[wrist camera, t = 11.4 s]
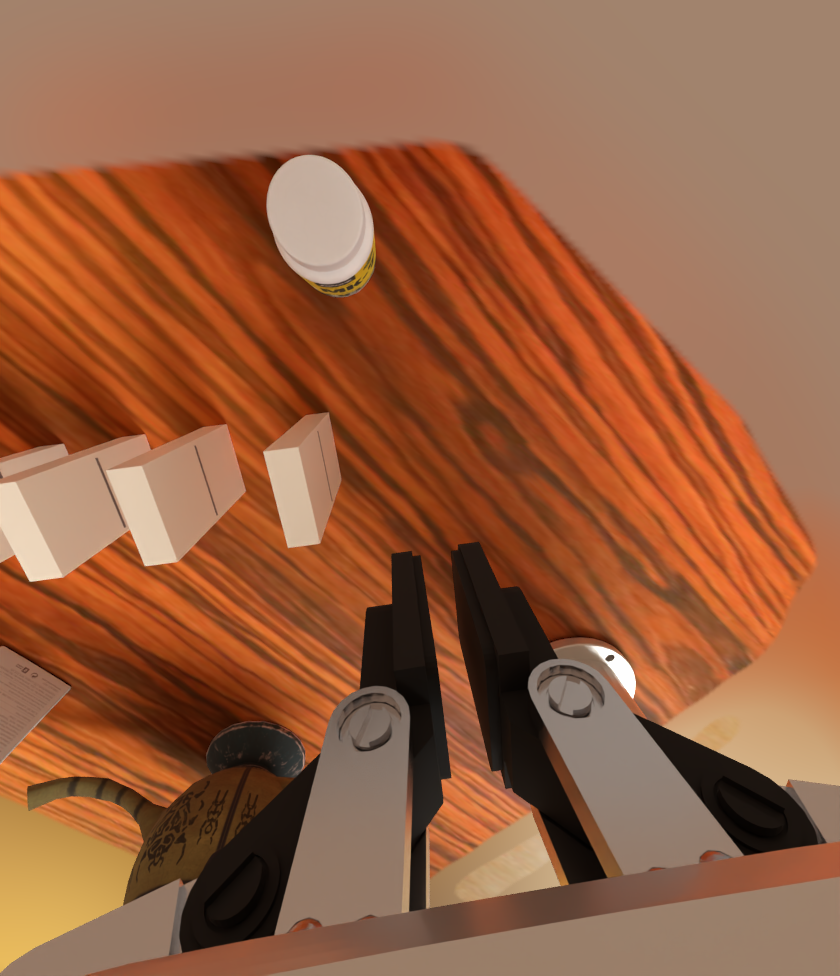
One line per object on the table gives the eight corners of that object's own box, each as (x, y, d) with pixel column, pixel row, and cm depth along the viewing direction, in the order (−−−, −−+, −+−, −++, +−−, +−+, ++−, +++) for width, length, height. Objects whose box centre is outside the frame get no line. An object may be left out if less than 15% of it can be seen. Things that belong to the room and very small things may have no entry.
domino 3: (227, 423, 27) (142, 465, 18) (246, 491, 29) (178, 561, 19) (203, 426, 27) (105, 470, 18) (223, 494, 29) (144, 566, 19)
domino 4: (329, 412, 27) (298, 447, 18) (342, 479, 29) (320, 543, 20) (305, 415, 27) (262, 451, 18) (319, 482, 29) (287, 548, 20)
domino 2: (145, 434, 27) (16, 481, 18) (169, 501, 29) (63, 577, 19) (121, 437, 27) (-22, 486, 17) (147, 504, 29) (29, 581, 19)
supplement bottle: (329, 313, 25) (303, 299, 17) (281, 241, 24) (229, 189, 16) (391, 269, 25) (393, 233, 17) (347, 191, 23) (326, 112, 15)
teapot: (337, 805, 41) (281, 1322, 19) (74, 781, 37) (-368, 1397, 15) (362, 721, 37) (326, 1245, 16) (72, 685, 33) (-516, 1319, 12)
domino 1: (64, 443, 27) (-112, 496, 17) (93, 510, 28) (-52, 592, 19) (39, 446, 27) (-151, 501, 17) (70, 513, 28) (-87, 596, 19)
